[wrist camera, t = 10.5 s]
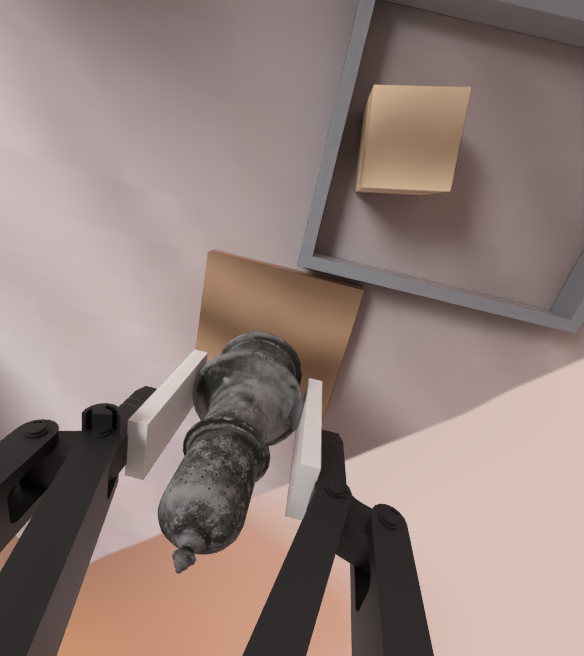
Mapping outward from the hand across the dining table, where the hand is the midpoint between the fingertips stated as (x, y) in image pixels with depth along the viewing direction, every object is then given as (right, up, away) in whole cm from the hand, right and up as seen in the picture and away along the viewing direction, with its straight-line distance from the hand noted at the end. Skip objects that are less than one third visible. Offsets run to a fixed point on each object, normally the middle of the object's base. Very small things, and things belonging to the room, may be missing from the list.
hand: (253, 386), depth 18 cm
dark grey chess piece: (0, +1, +2) cm, 2 cm away
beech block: (+9, +14, +2) cm, 17 cm away
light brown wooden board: (+1, +3, +7) cm, 7 cm away
